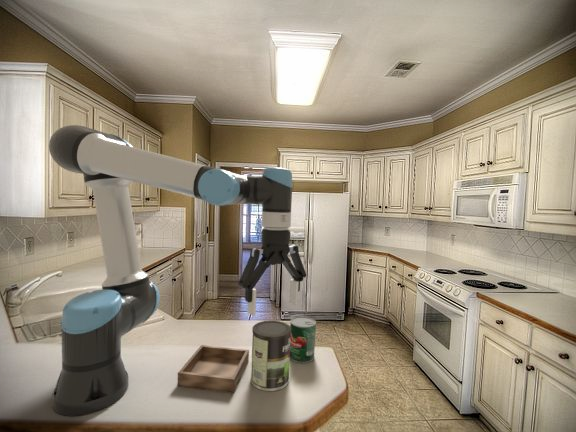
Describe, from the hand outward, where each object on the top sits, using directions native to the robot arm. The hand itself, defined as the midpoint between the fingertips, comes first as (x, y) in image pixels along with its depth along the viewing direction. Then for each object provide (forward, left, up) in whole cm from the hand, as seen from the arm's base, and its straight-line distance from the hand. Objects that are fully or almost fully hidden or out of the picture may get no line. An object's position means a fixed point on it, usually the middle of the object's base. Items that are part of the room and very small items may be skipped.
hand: (273, 308), depth 79 cm
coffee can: (0, 0, -20) cm, 20 cm away
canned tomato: (+7, +13, -20) cm, 25 cm away
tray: (-15, 0, -19) cm, 25 cm away
